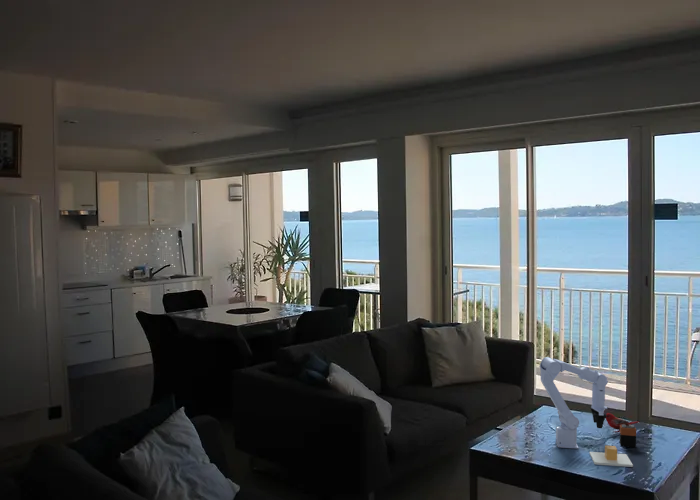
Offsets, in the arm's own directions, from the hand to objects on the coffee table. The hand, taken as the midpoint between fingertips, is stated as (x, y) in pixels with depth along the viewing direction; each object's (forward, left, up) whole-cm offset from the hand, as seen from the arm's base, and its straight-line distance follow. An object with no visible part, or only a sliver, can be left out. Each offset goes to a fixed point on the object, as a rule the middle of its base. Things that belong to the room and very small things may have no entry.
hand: (597, 425), depth 300 cm
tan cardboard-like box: (+2, -19, -8) cm, 21 cm away
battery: (+14, +1, -10) cm, 17 cm away
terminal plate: (+2, -19, -9) cm, 21 cm away
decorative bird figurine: (+15, +18, -10) cm, 25 cm away
